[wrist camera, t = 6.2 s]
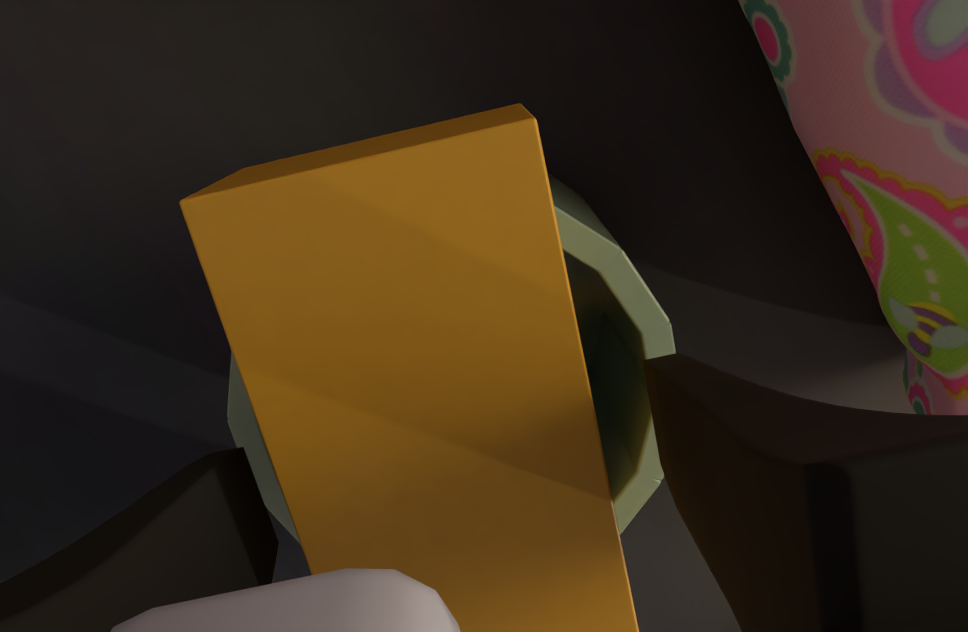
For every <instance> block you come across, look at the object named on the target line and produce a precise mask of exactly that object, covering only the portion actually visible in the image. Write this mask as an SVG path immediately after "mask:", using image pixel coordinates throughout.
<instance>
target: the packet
mask: <svg viewBox="0 0 968 632" xmlns="http://www.w3.org/2000/svg"><path fill="white" fill-rule="evenodd" d="M179 204H180V207H181V210H182V213H183V216H184V218H185V221H186V224H187V227H188V230H189V232H190V235H191V238H192V241H193V244H194V246H195V249H196V252H197V255H198V258H199V260H200V263H201V266H202V269H203V272H204V274H205V277H206V280H207V283H208V286H209V288H210V291H211V294H212V297H213V300H214V302H215V305H216V308H217V311H218V314H219V317H220V319H221V322H222V325H223V328H224V331H225V333H226V336H227V339H228V342H229V345H230V347H231V350H232V353H233V356H234V359H235V361H236V364H237V367H238V370H239V373H240V375H241V378H242V381H243V384H244V387H245V389H246V392H247V395H248V398H249V401H250V403H251V406H252V409H253V412H254V415H255V418H256V420H257V423H258V426H259V429H260V432H261V434H262V437H263V440H264V443H265V446H266V448H267V451H268V454H269V457H270V460H271V462H272V465H273V468H274V471H275V474H276V476H277V479H278V482H279V485H280V488H281V490H282V493H283V496H284V499H285V502H286V504H287V507H288V510H289V513H290V516H291V519H292V521H293V524H294V527H295V530H296V533H297V535H298V538H299V541H300V544H301V547H302V549H303V552H304V555H305V558H306V561H307V563H308V566H309V569H310V572H311V575H316V574H321V573H326V572H331V571H336V570H341V569H345V568H354V569H395V570H397V571H399V572H401V573H403V574H405V575H407V576H409V577H411V578H413V579H415V580H417V581H418V582H420V583H422V584H424V585H426V586H428V587H430V588H432V589H434V590H436V591H437V593H438V594H439V596H440V597H441V599H442V600H443V602H444V603H445V605H446V606H447V608H448V609H449V611H450V612H451V614H452V615H453V617H454V618H455V620H456V622H457V623H458V625H459V628H460V631H461V632H639V629H638V624H637V619H636V614H635V609H634V604H633V599H632V594H631V589H630V584H629V579H628V574H627V569H626V564H625V559H624V554H623V549H622V544H621V539H620V534H619V529H618V524H617V519H616V514H615V509H614V504H613V499H612V494H611V489H610V484H609V479H608V474H607V469H606V464H605V459H604V454H603V449H602V444H601V439H600V434H599V429H598V424H597V419H596V414H595V409H594V404H593V399H592V394H591V389H590V384H589V379H588V374H587V369H586V364H585V359H584V354H583V349H582V344H581V339H580V334H579V329H578V324H577V319H576V314H575V309H574V304H573V299H572V294H571V289H570V284H569V279H568V274H567V269H566V264H565V259H564V254H563V249H562V244H561V239H560V234H559V229H558V224H557V219H556V214H555V209H554V204H553V199H552V194H551V189H550V184H549V179H548V174H547V169H546V164H545V159H544V154H543V149H542V144H541V139H540V134H539V129H538V124H537V120H536V119H535V117H534V116H533V115H532V114H531V113H530V112H529V111H528V110H527V109H526V108H525V107H524V106H523V105H522V104H520V103H518V104H513V105H509V106H505V107H501V108H496V109H492V110H488V111H484V112H479V113H475V114H471V115H467V116H463V117H458V118H454V119H450V120H446V121H441V122H437V123H433V124H429V125H424V126H420V127H416V128H412V129H407V130H403V131H399V132H395V133H390V134H386V135H382V136H378V137H374V138H369V139H365V140H361V141H357V142H352V143H348V144H344V145H340V146H335V147H331V148H327V149H323V150H318V151H314V152H310V153H306V154H301V155H297V156H293V157H289V158H285V159H280V160H276V161H272V162H268V163H263V164H259V165H255V166H251V167H246V168H243V169H241V170H239V171H237V172H235V173H233V174H231V175H229V176H227V177H225V178H223V179H221V180H219V181H218V182H216V183H214V184H212V185H210V186H208V187H206V188H204V189H202V190H200V191H198V192H196V193H194V194H192V195H190V196H188V197H186V198H184V199H182V200H181V201H180V202H179Z"/></svg>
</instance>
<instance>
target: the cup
mask: <svg viewBox="0 0 968 632" xmlns="http://www.w3.org/2000/svg"><path fill="white" fill-rule="evenodd" d="M547 174H548V179H549V184H550V189H551V194H552V199H553V204H554V209H555V214H556V219H557V224H558V229H559V234H560V239H561V244H562V249H563V254H564V259H565V264H566V269H567V274H568V279H569V284H570V289H571V294H572V299H573V304H574V309H575V314H576V319H577V324H578V329H579V334H580V339H581V344H582V349H583V354H584V359H585V364H586V369H587V374H588V379H589V384H590V389H591V394H592V399H593V404H594V409H595V414H596V419H597V424H598V429H599V434H600V439H601V444H602V449H603V454H604V459H605V464H606V469H607V474H608V479H609V484H610V489H611V494H612V499H613V504H614V509H615V514H616V519H617V524H618V529H619V534H621V533H622V532H623V530H624V529H625V528H626V527H627V525H628V524H629V523H630V522H631V520H632V519H633V518H634V517H635V515H636V514H637V513H638V511H639V510H640V509H641V508H642V506H643V505H644V504H645V503H646V501H647V500H648V499H649V498H650V496H651V495H652V494H653V492H654V491H655V490H656V489H657V487H658V486H659V485H660V483H661V480H662V479H663V477H664V472H663V470H662V467H661V464H660V459H659V454H658V448H657V442H656V436H655V431H654V425H653V419H652V414H651V408H650V402H649V396H648V391H647V385H646V379H645V374H644V368H643V362H642V360H647V359H651V358H656V357H661V356H665V355H670V354H674V353H676V350H675V344H674V338H673V332H672V325H671V323H670V322H669V318H668V317H667V315H666V314H665V312H664V311H663V309H662V308H661V306H660V305H659V303H658V302H657V300H656V299H655V297H654V296H653V294H652V293H651V291H650V290H649V288H648V287H647V285H646V284H645V282H644V281H643V279H642V278H641V276H640V275H639V273H638V272H637V270H636V269H635V267H634V266H633V264H632V263H631V261H630V260H629V258H628V257H627V255H626V254H625V252H624V251H623V249H622V248H621V247H620V246H619V244H618V243H617V242H616V240H615V239H614V238H613V237H612V235H611V234H610V233H609V231H608V230H607V229H606V228H605V226H604V225H603V224H602V222H601V221H600V220H599V219H598V217H597V216H596V215H595V213H594V212H593V211H592V210H591V208H590V207H589V206H588V204H587V203H586V202H585V201H584V199H583V198H582V197H581V196H580V195H579V194H578V192H576V191H575V190H573V189H571V188H570V187H568V186H567V185H565V184H564V183H562V182H561V181H560V180H558V179H557V178H556V177H554V176H553V175H552V174H550V173H549V172H547ZM227 418H228V420H227V422H228V425H229V427H230V430H231V433H232V435H233V438H234V441H235V444H236V446H237V448H239V447H244V450H245V453H246V455H247V458H248V461H249V463H250V466H251V469H252V472H253V474H254V477H255V480H256V482H257V485H258V488H259V491H260V493H261V496H262V499H263V502H264V504H265V507H266V508H267V509H268V510H269V511H270V512H271V513H272V514H273V515H274V516H275V518H276V519H277V520H278V521H279V522H280V523H281V524H282V525H283V526H284V527H285V528H286V529H287V530H288V532H289V533H290V534H291V535H292V536H293V537H294V538H295V539H296V540H297V541H298V542H299V543H300V541H299V538H298V535H297V533H296V530H295V527H294V524H293V521H292V519H291V516H290V513H289V510H288V507H287V504H286V502H285V499H284V496H283V493H282V490H281V488H280V485H279V482H278V479H277V476H276V474H275V471H274V468H273V465H272V462H271V460H270V457H269V454H268V451H267V448H266V446H265V443H264V440H263V437H262V434H261V432H260V429H259V426H258V423H257V420H256V418H255V415H254V412H253V409H252V406H251V403H250V401H249V398H248V395H247V392H246V389H245V387H244V384H243V381H242V378H241V375H240V373H239V370H238V367H237V364H236V361H235V359H234V356H233V353H232V350H231V361H230V374H229V388H228V402H227Z"/></svg>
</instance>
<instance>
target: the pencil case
mask: <svg viewBox="0 0 968 632" xmlns="http://www.w3.org/2000/svg"><path fill="white" fill-rule="evenodd" d="M738 1H739V4H740V6H741V8H742V10H743V12H744V14H745V16H746V18H747V20H748V22H749V24H750V25H751V27H752V29H753V31H754V33H755V35H756V38H757V40H758V42H759V45H760V47H761V49H762V51H763V54H764V56H765V58H766V61H767V63H768V65H769V68H770V70H771V72H772V75H773V78H774V80H775V83H776V85H777V88H778V90H779V93H780V95H781V98H782V100H783V103H784V105H785V107H786V109H787V112H788V114H789V117H790V119H791V122H792V125H793V127H794V130H795V132H796V133H797V135H798V137H799V139H800V141H801V143H802V145H803V147H804V149H805V151H806V152H807V154H808V156H809V158H810V160H811V162H812V164H813V166H814V168H815V170H816V172H817V174H818V176H819V178H820V179H821V181H822V183H823V185H824V187H825V189H826V191H827V193H828V195H829V197H830V199H831V201H832V203H833V205H834V207H835V209H836V210H837V212H838V214H839V216H840V218H841V220H842V222H843V223H844V225H845V227H846V229H847V231H848V233H849V235H850V237H851V239H852V241H853V243H854V245H855V247H856V249H857V251H858V253H859V255H860V257H861V259H862V261H863V264H864V266H865V268H866V270H867V272H868V274H869V277H870V279H871V281H872V283H873V285H874V288H875V290H876V292H877V295H878V301H879V304H880V306H881V309H882V311H883V314H884V315H885V317H886V319H887V321H888V323H889V325H890V327H891V328H892V330H893V331H894V333H895V334H896V336H897V337H898V338H899V340H900V341H901V342H902V343H903V344H904V346H905V347H906V348H907V350H906V358H905V367H904V371H903V382H904V386H905V391H906V394H907V396H908V398H909V400H910V402H911V405H912V407H913V409H914V410H915V412H916V413H917V414H925V415H968V0H738Z"/></svg>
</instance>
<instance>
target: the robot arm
mask: <svg viewBox="0 0 968 632" xmlns="http://www.w3.org/2000/svg"><path fill="white" fill-rule="evenodd" d="M642 362H643V368H644V374H645V379H646V385H647V391H648V396H649V402H650V408H651V414H652V419H653V425H654V431H655V436H656V442H657V448H658V454H659V459H660V464H661V467H662V470H663V472H664V475H665V478H666V481H667V483H668V486H669V489H670V491H671V494H672V497H673V499H674V502H675V504H676V507H677V509H678V511H679V513H680V515H681V517H682V519H683V520H684V522H685V524H686V526H687V528H688V530H689V532H690V533H691V535H692V537H693V539H694V541H695V543H696V544H697V546H698V548H699V550H700V552H701V554H702V555H703V557H704V559H705V561H706V563H707V564H708V566H709V568H710V570H711V572H712V574H713V575H714V577H715V579H716V581H717V583H718V584H719V586H720V588H721V590H722V592H723V594H724V595H725V597H726V599H727V601H728V603H729V605H730V607H731V609H732V611H733V613H734V615H735V617H736V619H737V621H738V623H739V625H740V628H741V630H742V632H968V415H925V414H905V413H890V412H882V411H873V410H864V409H856V408H849V407H843V406H837V405H832V404H827V403H823V402H818V401H813V400H809V399H804V398H800V397H796V396H793V395H789V394H785V393H782V392H779V391H776V390H773V389H770V388H767V387H763V386H760V385H758V384H755V383H752V382H749V381H747V380H744V379H741V378H739V377H736V376H734V375H731V374H729V373H726V372H724V371H722V370H719V369H717V368H714V367H712V366H710V365H707V364H705V363H703V362H700V361H698V360H696V359H693V358H691V357H688V356H686V355H683V354H680V353H674V354H670V355H665V356H661V357H656V358H651V359H647V360H642ZM278 543H279V542H278V540H277V537H276V534H275V531H274V529H273V526H272V523H271V521H270V518H269V515H268V512H267V510H266V507H265V504H264V502H263V499H262V496H261V493H260V491H259V488H258V485H257V482H256V480H255V477H254V474H253V472H252V469H251V466H250V463H249V461H248V458H247V455H246V453H245V450H244V447H239V448H234V449H230V450H225V451H220V452H216V453H211V454H209V455H207V456H204V457H202V458H200V459H199V460H197V461H195V462H193V463H192V464H190V465H188V466H187V467H185V468H184V469H182V470H181V471H179V472H178V473H176V474H175V475H173V476H172V477H170V478H169V479H167V480H166V481H164V482H163V483H162V484H160V485H159V486H157V487H156V488H154V489H153V490H152V491H150V492H149V493H147V494H146V495H144V496H143V497H142V498H140V499H139V500H137V501H136V502H134V503H133V504H132V505H130V506H129V507H127V508H126V509H124V510H123V511H121V512H120V513H118V514H117V515H115V516H114V517H112V518H111V519H109V520H108V521H106V522H105V523H103V524H102V525H100V526H99V527H97V528H96V529H94V530H93V531H91V532H89V533H88V534H86V535H85V536H83V537H82V538H80V539H79V540H77V541H76V542H74V543H72V544H71V545H69V546H68V547H66V548H64V549H63V550H61V551H59V552H57V553H56V554H54V555H52V556H51V557H49V558H47V559H45V560H44V561H42V562H40V563H38V564H36V565H35V566H33V567H31V568H29V569H27V570H25V571H24V572H22V573H20V574H18V575H16V576H14V577H12V578H10V579H9V580H7V581H4V582H2V583H0V632H461V631H460V628H459V625H458V623H457V622H456V620H455V618H454V617H453V615H452V614H451V612H450V611H449V609H448V608H447V606H446V605H445V603H444V602H443V600H442V599H441V597H440V596H439V594H438V593H437V591H436V590H434V589H432V588H430V587H428V586H426V585H424V584H422V583H420V582H418V581H417V580H415V579H413V578H411V577H409V576H407V575H405V574H403V573H401V572H399V571H397V570H395V569H354V568H345V569H341V570H336V571H331V572H326V573H321V574H316V575H311V576H306V577H302V578H297V579H292V580H287V581H282V582H277V583H272V584H271V582H272V578H273V573H274V568H275V561H276V555H277V549H278Z"/></svg>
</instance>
